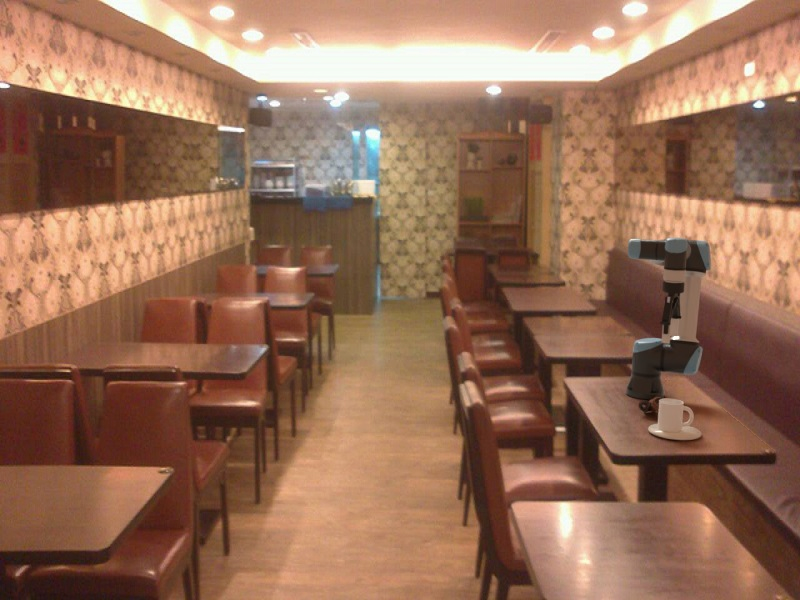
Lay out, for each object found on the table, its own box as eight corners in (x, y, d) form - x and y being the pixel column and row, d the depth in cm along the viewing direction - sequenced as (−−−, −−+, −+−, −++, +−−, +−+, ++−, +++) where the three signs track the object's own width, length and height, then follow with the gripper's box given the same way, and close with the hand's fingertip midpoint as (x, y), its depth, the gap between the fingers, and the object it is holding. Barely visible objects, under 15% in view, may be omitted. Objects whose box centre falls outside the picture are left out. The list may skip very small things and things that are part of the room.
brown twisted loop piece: (661, 412, 356) (670, 397, 351) (665, 429, 348) (675, 414, 344) (632, 405, 355) (641, 389, 350) (636, 422, 347) (646, 406, 342)
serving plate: (654, 423, 340) (654, 420, 340) (705, 431, 332) (705, 428, 332) (642, 436, 324) (643, 433, 324) (695, 444, 316) (695, 441, 316)
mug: (692, 428, 331) (694, 400, 329) (693, 435, 323) (695, 406, 321) (657, 425, 334) (659, 397, 332) (657, 431, 326) (659, 403, 324)
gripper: (670, 276, 343) (666, 332, 347) (655, 284, 322) (651, 344, 325) (691, 278, 340) (687, 334, 343) (677, 286, 318) (672, 346, 322)
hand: (669, 339), depth 334 cm, fingers open, 13 cm apart
